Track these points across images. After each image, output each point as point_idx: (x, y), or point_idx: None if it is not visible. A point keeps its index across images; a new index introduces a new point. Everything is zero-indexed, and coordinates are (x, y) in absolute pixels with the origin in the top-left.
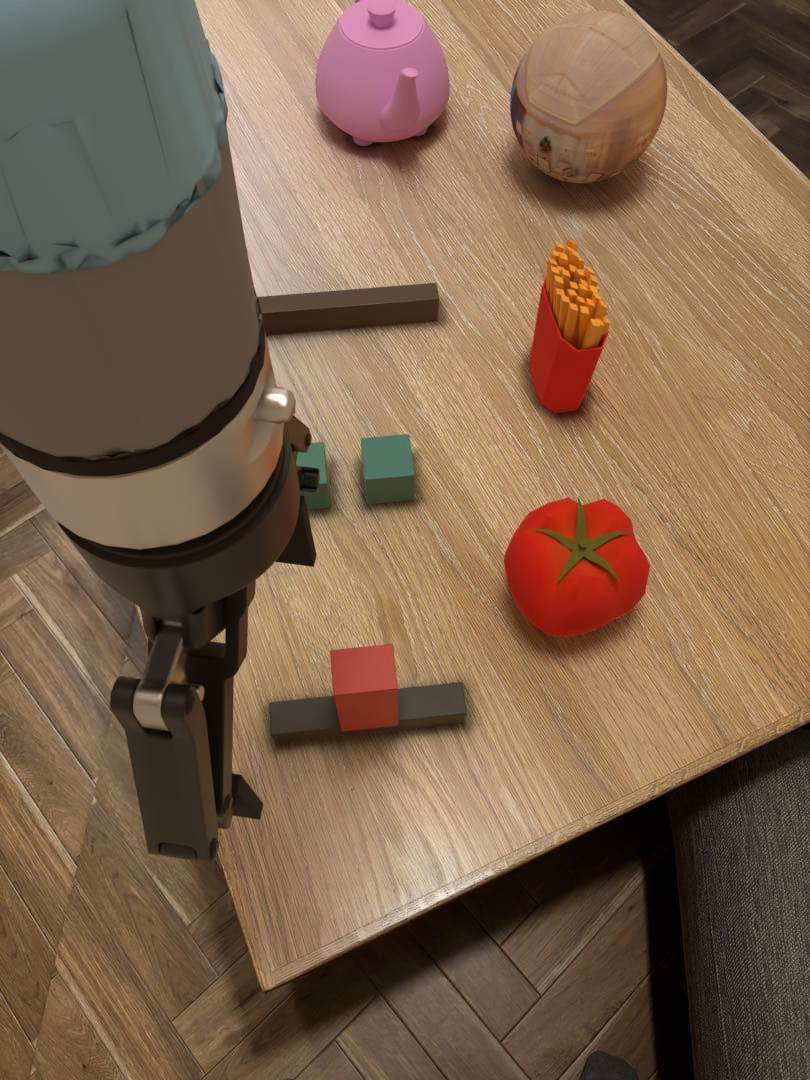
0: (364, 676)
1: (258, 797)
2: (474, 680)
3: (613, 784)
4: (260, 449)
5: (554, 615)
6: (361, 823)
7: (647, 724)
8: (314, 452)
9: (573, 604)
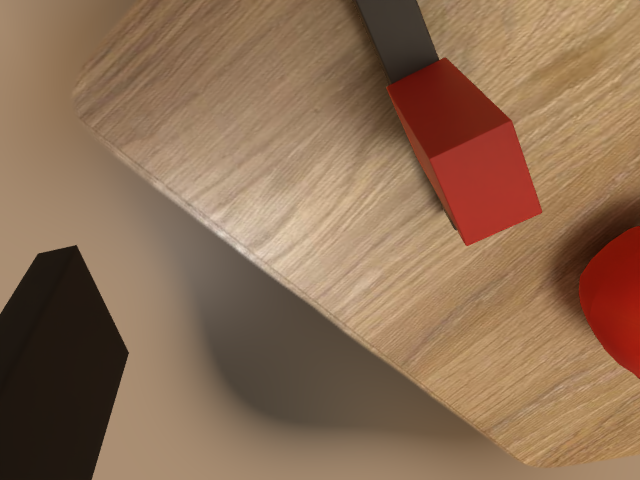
0: (475, 193)
1: (111, 409)
2: None
3: (416, 362)
4: None
5: (611, 316)
6: (278, 138)
7: (489, 373)
8: None
9: (632, 351)
